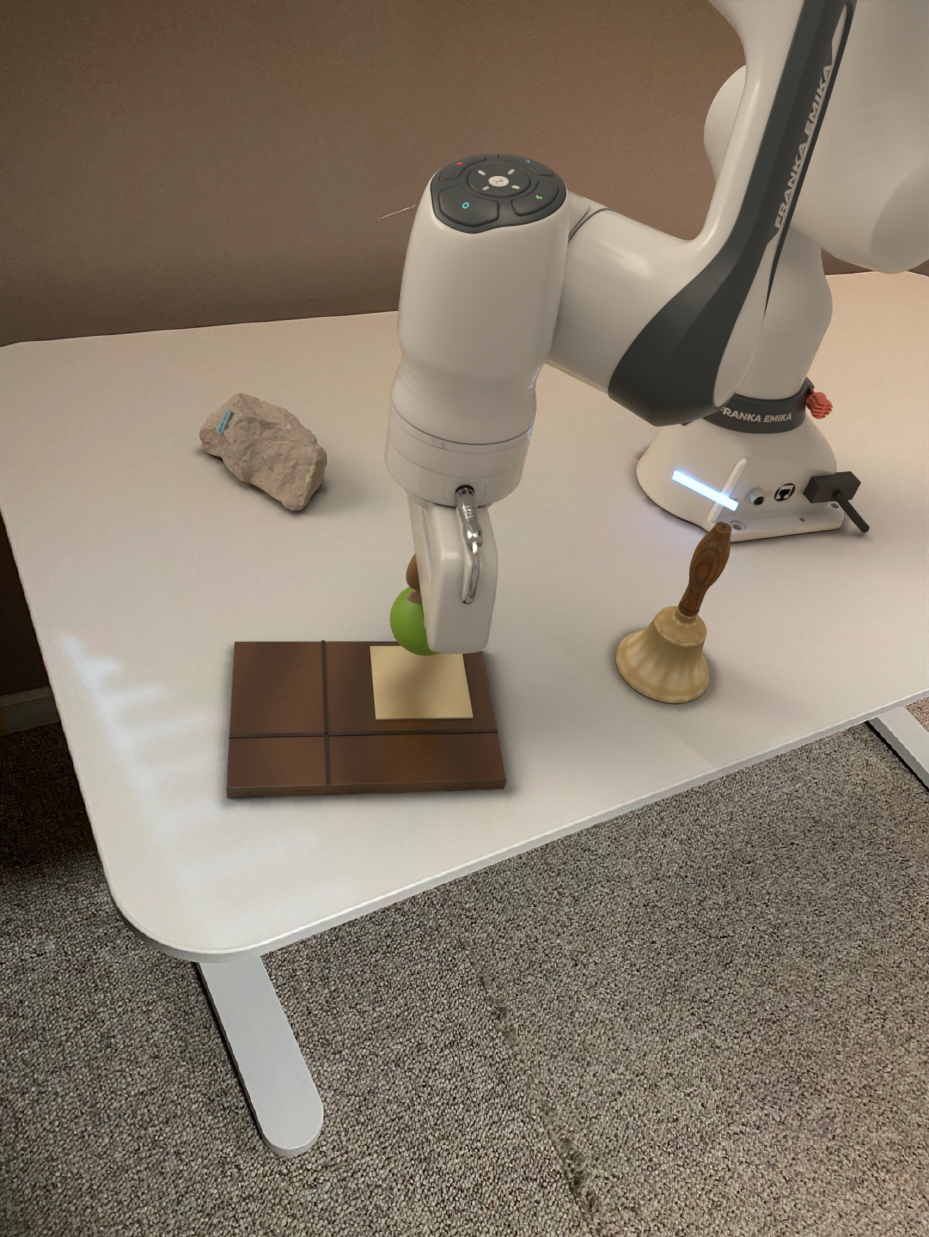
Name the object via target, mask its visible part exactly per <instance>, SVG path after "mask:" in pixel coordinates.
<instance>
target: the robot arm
mask: <svg viewBox="0 0 929 1237" xmlns="http://www.w3.org/2000/svg"><path fill="white" fill-rule="evenodd" d="M706 1H707V2H708V3H709V4H710V5H712V7H713V8H715V9H716V11H718V12H719V13H720V15H721V16H722V17H723V18H724V19H725V21H726V22H728V23H729V24H730V26H731V27H732V28H733V30H734V31H735V32H736V35H737V36H738V38H739V40H740V42H741V46H742V49H743V53H744V59H745V64H744V65H743V66H741V67H740V68H739V69H737V70H736V71H734V72H733V73H732V74H731V75H730V76H729V78H728V79H727V80H726V81H724V83H723V85H721V87H720V88H719V90H718V91H717V93H716V94H715V96H714V98H713V101H712V102H711V104H710V107H709V108H708V112H707V115H706V118H705V121H704V122H705V123H704V129H703V146H704V151H705V155H706V157H707V159H708V163H709V165H710V168H711V172H712V175H713V179H714V184H715V187H714V189H713V193H712V197H711V200H710V204H709V207H708V210H707V214H706V218H705V220H704V224H703V227H702V229H701V230H700V233H699V234H698V235H697V236H696V237H695V238H693V239H682V238H679V237H676V236H674V235H672V234H669V233H667V232H664V231H662V230H660V229H658V228H655V227H652V226H650V225H649V224H645V223H643V222H642V221H641V222H640V221H638V220H635V219H634V218H631V217H629V216H626V215H623V214H621V213H619V212H617V211H616V210H615V209H613V208H612V207H608V206H606V205H604V204H601V203H599V202H596V201H595V200H592V199H590V198H588V197H585V196H582V195H579V194H577V193H575V192H572V191H571V190H568V186H567V184H566V183H565V181H564V180H563V179H562V177H561V176H560V174H558V173H557V172H555V170H553V169H552V168H551V167H549V166H547V165H546V164H544V163H542V162H540V161H538V160H535V159H533V158H530V157H526V156H522V155H517V154H512V153H511V154H510V153H499V152H498V153H497V152H495V153H494V152H492V153H490V152H489V153H477V154H473V155H469V156H464V157H460V158H458V159H456V160H453V161H451V162H449V163H447V164H445V165H444V166H442V167H440V168H439V169H438V170H437V171H436V172H435V173H434V174H433V175H432V176H431V177H430V178H429V180H428V182H427V184H426V186H425V189H424V191H423V193H422V195H421V198H420V201H419V204H418V207H417V210H416V213H415V216H414V219H413V224H412V227H411V230H410V235H409V239H408V243H407V248H406V252H405V259H404V264H403V270H402V277H401V283H400V284H401V285H400V292H399V300H398V310H397V312H398V313H397V322H396V333H397V338H398V344H399V348H400V359H399V365H398V367H397V370H396V371H395V373H394V376H393V378H392V382H391V387H390V394H389V403H388V413H387V423H386V424H387V425H386V436H385V444H384V445H385V446H384V454H383V455H384V456H383V457H384V459H383V460H384V465H385V467H386V470H387V472H388V473H389V475H390V476H391V478H392V479H393V480H394V482H396V483H397V485H399V486H400V487H401V488H403V491H404V493H405V494H406V495H407V503H408V511H409V518H410V524H411V532H412V540H413V546H414V554H416V561H417V569H418V576H419V584H420V591H421V598H422V605H423V609H422V614H423V623H424V627H425V628H426V634H427V642H428V646H429V649H430V650H431V651H433V652H436V653H446V654H468V653H476V652H479V651H481V650H482V651H483V650H484V649H485V648H486V647H487V645H488V642H489V638H490V632H491V628H492V622H493V621H492V620H493V617H494V616H493V615H494V609H495V602H496V596H497V590H498V580H499V552H498V546H497V543H496V538H495V534H494V529H493V525H492V520H491V516H490V513H489V508H490V507H491V506H492V505H493V504H494V503H497V502H500V501H502V500H504V499H506V498H507V497H508V496H510V495H511V494H512V493H514V492H515V491H516V489H517V488H518V487H519V485H520V483H521V480H522V478H523V473H524V468H525V464H526V460H527V456H528V451H529V447H530V441H531V438H532V433H533V429H534V424H535V420H536V414H537V408H538V406H537V405H538V401H537V400H538V399H537V392H536V391H537V390H536V386H537V380H538V377H539V376H540V375H539V374H540V372H541V370H542V369H543V367H544V365H545V364H546V365H548V366H550V367H551V368H554V369H556V370H558V371H559V372H562V373H563V374H566V375H568V376H569V377H572V378H573V379H576V380H578V381H580V382H581V383H584V384H586V385H587V386H590V387H591V388H594V389H595V390H598V391H599V392H602V393H603V394H606V395H607V396H608V398H609V399H611V400H612V401H613V402H615V403H617V404H618V405H620V406H621V407H623V408H624V409H626V410H627V411H629V412H630V413H633V414H634V415H635V416H637V417H639V418H640V419H641V420H643V421H645V422H647V423H648V424H650V426H651V425H652V426H653V427H656V428H659V430H658V431H657V434H656V435H655V437H654V439H653V440H652V441H651V444H650V445H649V446H648V448H647V449H646V450H645V452H644V453H643V455H642V456H641V457H640V458H639V460H638V462H637V463H636V467H635V468H636V469H635V474H636V478H637V481H638V484H639V485H640V488H641V489H642V490H643V492H644V493H645V494H646V495H647V496H648V497H649V498H650V499H651V501H652V502H654V503H655V504H656V505H658V506H659V507H660V508H663V509H664V510H665V511H667V512H668V513H671V514H672V515H674V516H675V517H678V518H680V519H681V520H684V521H686V522H687V521H688V522H689V523H693V524H694V525H696V526H698V527H700V528H703V530H704V531H706V532H707V533H708V532H709V531H710V530H711V529H712V528H713V527H714V525H715V524H716V523H717V522H724V523H727V524H729V525H730V526H731V528H732V531H731V538H730V543H734V542H735V543H736V542H744V541H751V540H760V539H767V538H774V537H775V538H776V537H781V536H782V537H783V536H790V535H791V536H792V535H797V534H798V535H799V534H806V533H814V532H821V531H822V532H823V531H830V530H835V529H836V530H837V529H839V528H841V526H842V523H843V520H844V517H845V514H846V515H847V517H848V518H849V519H850V521H851V522H852V523H853V524H854V525H855V527H857V529H858V530H859V531H860V532H861V533H863V534H866V533H868V532H869V531H870V526H869V524H868V523H867V522H866V520H865V519H863V517H862V516H861V514H860V513H859V512H858V511H857V510H856V509H855V507H854V506H853V504H852V503H851V502H850V501H853V499H854V497H855V496H856V494H857V492H858V490H859V488H860V487H861V484H862V481H861V480H860V479H859V478H858V477H857V475H855V474H854V473H853V471H851V470H847V471H838V465H837V464H838V463H837V459H836V455H835V453H834V450H833V448H832V446H831V445H830V443H829V441H828V439H827V438H826V437H825V436H824V434H823V433H822V431H821V430H820V429H819V427H818V426H817V425H816V423H815V422H814V421H813V419H811V417H810V416H809V415H808V414H807V409H808V410H809V411H810V414H811V416H812V417H813V418H814V419H816V420H822V419H825V418H826V416H829V415H830V414H831V413H832V412H833V409H834V406H833V403H832V402H831V401H830V400H829V399H828V398H827V396H826V394H825V393H824V392H822V391H821V392H820V391H815V385H814V384H813V382H812V380H811V379H810V378H809V377H808V374H809V371H810V369H811V367H812V364H813V363H814V360H815V358H816V355H817V353H818V351H819V349H820V346H821V344H822V342H823V340H824V337H825V336H826V333H827V331H828V328H829V326H830V324H831V322H832V318H833V310H834V304H833V302H834V301H833V295H832V291H831V288H830V286H829V283H828V280H827V277H826V275H825V271H824V266H823V260H822V250H823V251H825V252H827V253H828V254H829V255H831V256H832V257H833V258H836V259H838V260H841V261H843V262H845V263H849V264H852V265H855V266H857V267H859V268H863V269H866V270H870V271H874V272H877V273H880V274H883V275H897V274H902V273H904V272H907V271H909V270H913V269H915V268H917V267H918V266H920V265H922V264H923V263H926V261H928V260H929V0H706Z"/></svg>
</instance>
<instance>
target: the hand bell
mask: <svg viewBox="0 0 929 1237" xmlns="http://www.w3.org/2000/svg"><path fill="white" fill-rule="evenodd" d="M731 531H732V528H731V526H730V525H729V524H727V523H724V522H717V523H716V524H715V525H714V527H713V528H712V529H711V530H710V531H709V532H708V531H707V533H706V534H705V535H704V536H703V537H702V538H701V540H700V541H699V542H698V544H697V545H696V547H695V549H694V552H693V554H692V557H691V560H690V564H689V568H688V569H689V570H688V574H689V575H688V583H687V586H686V589H685V590H684V592H683V594H682V596H681V599H680V600H679V602H678V605H670V606H666V607H663V608H661V609H660V610H658V612H656V613H655V616H654V617H653V619H652V621H650V624H649V625H648V626H647V627H646V628H643V629H639V630H636V631H634V632H632V633H630V634H628V635H627V636H625V637H624V638H623V639H622V640H621V641H620V642H619V643H618V646H617V648H616V651H615V662H616V666H617V669H618V671H619V673H620V676H622V678H623V679H624V681H626V683H627V684H628V685H629V686H630V687H631V688H632V689H634V690H636V691H637V692H638V693H640V694H641V695H642V696H645V697H647V698H649V699H651V700H654V701H658V702H661V703H666V704H676V705H677V704H686V703H688V702H692V701H694V700H696V699H698V698H699V697H701V696H702V695H704V693H705V692H706V691H707V689H708V687H709V686H710V681H711V672H710V667H709V663H708V661H707V658H706V656H705V655H704V654H703V650H704V645H705V642H706V638H707V634H708V632H707V631H708V630H707V626H706V623H705V622H704V620H703V618H702V617H701V616H699V613H700V609H701V607H702V604H703V601H704V599H705V596H706V594H707V592H708V590H709V589H710V588H711V587H712V586H713V585H714V584H715V583H716V582H717V580H718V579H719V578H720V576H721V575H722V574H723V572H724V570H725V568H726V566H727V564H728V562H729V559H730V553H731V546H732V545H731V542H730V538H731Z"/></svg>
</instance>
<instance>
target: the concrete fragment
mask: <svg viewBox="0 0 929 1237" xmlns="http://www.w3.org/2000/svg"><path fill="white" fill-rule="evenodd" d="M198 436H199V440H200V441H201V447H202V450H203V451H204V453H206V454H209V455H212V456H214V457H215V456H216V457H220V458H221V459H222V462H223V464H224V466H225V467H226V468H227V470H228V471H229V472H231V473H232V474H233V475H234V476H235V477H236V478H237V479H238V481H240V482H242V483H245V484H250V485H253V486H254V487H257V488H259V489H260V490H262V491H264V492H265V493H266V494H268V495H269V496H270V497H271V498H274V499H276V500H277V501H279V502H280V503H282V506H283V507H284V508H285V509H287V510H291V511H302V510H303V509H304V508H305V507H306V506H307V505H308V504H309V503H310V500H311V498H312V497H313V495H314V493H315V492H316V491H318V490H319V489H320V486H321V484H322V483H323V481H324V479H325V472H326V467H327V465H328V454H327V452H326V450H325V448H323V447H322V446H321V445H320V444H319V443H318V439H317V437H316V434H314V433H313V432H312V430H310V429H309V428H306V427H305V426H304V424H302V423H301V422H300V419H299V418H298V417H297V416H295V415H294V414H293V413H291V412H290V411H289V410H287V408H282V407H281V406H278V405H275V404H272V403H269V402H268V401H266V400H261V399H259V398H258V397H257V396H252V395H249V394H247V393H244V392H239V393H235V394H234V395H233V396H231V397H230V398H229V399H228V400H227V401H226V402H224V403H223V404H222V405H221V406H220V408H218V410H216V411H215V412H211V413H210V414H209V415H208V416H207V418H206V419H205V422H204V423H203V424H202V425H201V426H200V430H199V433H198Z"/></svg>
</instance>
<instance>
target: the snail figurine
mask: <svg viewBox="0 0 929 1237" xmlns="http://www.w3.org/2000/svg"><path fill="white" fill-rule="evenodd" d="M405 572H406V573H405V581H406V584H407V586H408V587H406V588H405V589H404V590H402V591H401V592H400V593H399V594H398V595H397V596H396V598H395V600H394V601H393V603H392V606H391V608H390V611H389V625H390V630H391V633H392V635H393V638H394V639H395V641H397V642H398V643H399V644H400V645H401V646H402V647H403V648H404V649H406V650H407V651H409V652H411V653H413V654H416V655H421V656H432V655H437V654H440V653H436V652H433V651H431V650H430V649H429V646H428V642H427V634H426V628H425V627H424V623H423V614H422V609H423V605H422V598H421V591H420V584H419V576H418V569H417V561H416V554H415V553H414V554H413V555H412V557H411V559H410V561H409V563H408V565H407V568H406V571H405Z"/></svg>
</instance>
